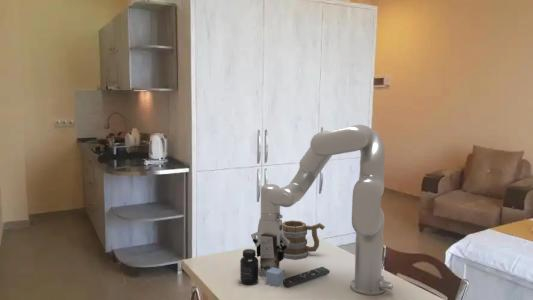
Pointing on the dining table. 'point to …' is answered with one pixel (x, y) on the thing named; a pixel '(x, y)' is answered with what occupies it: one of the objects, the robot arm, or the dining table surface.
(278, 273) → the dusty-blue block
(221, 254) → the dining table surface
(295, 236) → the tankard
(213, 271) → the dining table surface
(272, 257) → the coffee box
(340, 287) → the dining table surface
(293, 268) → the dining table surface
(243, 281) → the supplement bottle
